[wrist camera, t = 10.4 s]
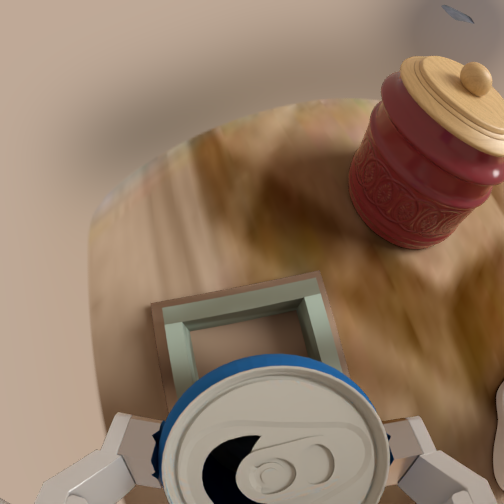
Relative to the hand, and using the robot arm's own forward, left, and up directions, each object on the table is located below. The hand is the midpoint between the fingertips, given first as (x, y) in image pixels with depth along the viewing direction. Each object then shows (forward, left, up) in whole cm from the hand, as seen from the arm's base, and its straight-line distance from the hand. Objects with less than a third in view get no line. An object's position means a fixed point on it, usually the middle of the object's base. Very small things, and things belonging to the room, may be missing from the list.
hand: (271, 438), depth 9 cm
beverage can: (0, 0, -10) cm, 10 cm away
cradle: (-2, -2, -15) cm, 15 cm away
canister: (-25, -4, -15) cm, 30 cm away
